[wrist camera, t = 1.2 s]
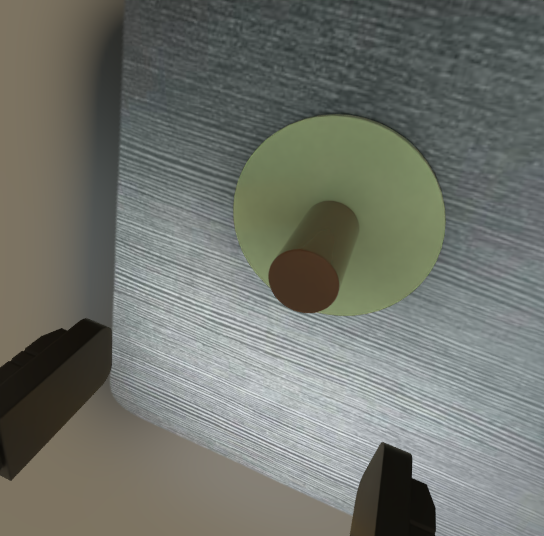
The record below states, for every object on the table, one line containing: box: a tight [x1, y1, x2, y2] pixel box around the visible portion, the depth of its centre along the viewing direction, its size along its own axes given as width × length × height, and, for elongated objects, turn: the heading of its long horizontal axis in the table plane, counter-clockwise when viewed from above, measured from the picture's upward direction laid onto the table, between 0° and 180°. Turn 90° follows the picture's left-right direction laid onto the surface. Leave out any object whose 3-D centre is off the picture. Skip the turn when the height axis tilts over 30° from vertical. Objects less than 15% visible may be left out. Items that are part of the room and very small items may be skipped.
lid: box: [233, 114, 446, 316], centre depth 20 cm, size 11×11×7 cm
